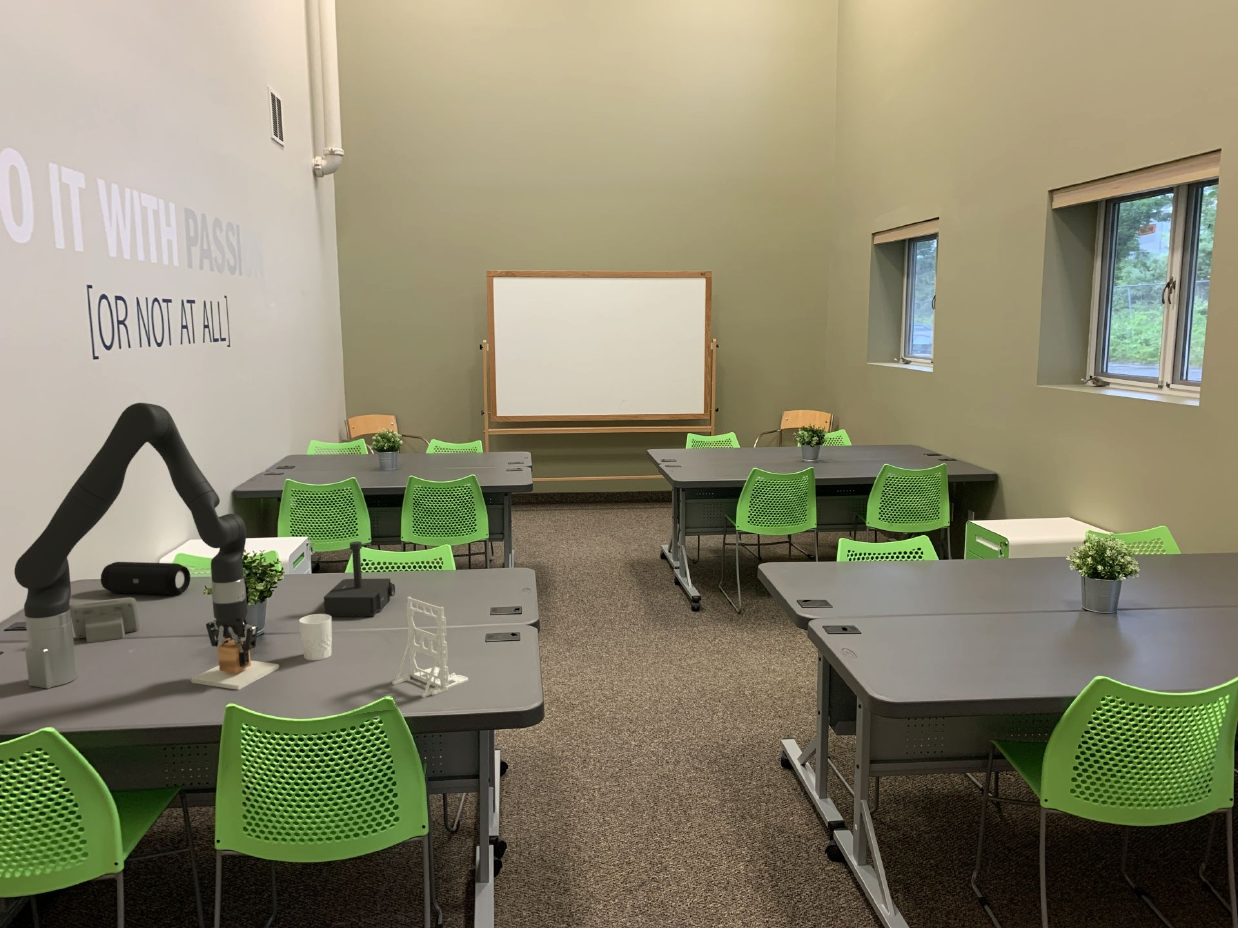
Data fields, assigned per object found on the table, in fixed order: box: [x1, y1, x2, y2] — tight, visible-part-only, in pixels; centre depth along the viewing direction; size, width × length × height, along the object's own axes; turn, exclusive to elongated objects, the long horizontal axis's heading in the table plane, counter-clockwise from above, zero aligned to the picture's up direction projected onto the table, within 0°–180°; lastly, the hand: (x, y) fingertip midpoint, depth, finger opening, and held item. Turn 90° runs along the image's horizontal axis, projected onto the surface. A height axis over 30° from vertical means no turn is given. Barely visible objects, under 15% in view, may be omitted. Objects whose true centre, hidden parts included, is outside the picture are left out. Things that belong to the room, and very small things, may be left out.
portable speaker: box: [100, 561, 191, 596], centre depth 294 cm, size 26×10×10 cm, turn 82°
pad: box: [191, 660, 280, 690], centre depth 225 cm, size 14×14×1 cm
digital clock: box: [70, 597, 140, 644], centre depth 254 cm, size 16×9×11 cm, turn 101°
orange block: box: [217, 639, 252, 673], centre depth 225 cm, size 5×5×6 cm
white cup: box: [298, 613, 333, 662], centre depth 237 cm, size 8×8×10 cm
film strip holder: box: [391, 596, 469, 698], centre depth 218 cm, size 14×14×20 cm
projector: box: [323, 541, 396, 618], centre depth 276 cm, size 19×17×20 cm
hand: (235, 664), depth 225 cm, fingers closed on orange block, 5 cm apart
